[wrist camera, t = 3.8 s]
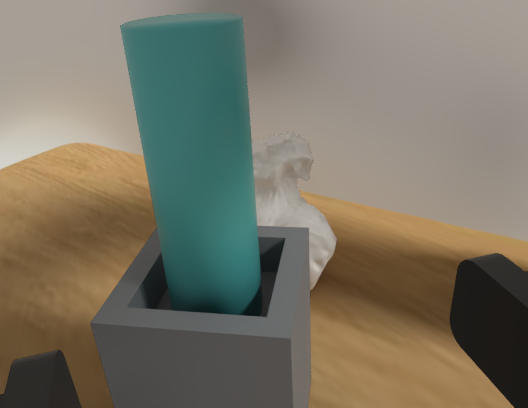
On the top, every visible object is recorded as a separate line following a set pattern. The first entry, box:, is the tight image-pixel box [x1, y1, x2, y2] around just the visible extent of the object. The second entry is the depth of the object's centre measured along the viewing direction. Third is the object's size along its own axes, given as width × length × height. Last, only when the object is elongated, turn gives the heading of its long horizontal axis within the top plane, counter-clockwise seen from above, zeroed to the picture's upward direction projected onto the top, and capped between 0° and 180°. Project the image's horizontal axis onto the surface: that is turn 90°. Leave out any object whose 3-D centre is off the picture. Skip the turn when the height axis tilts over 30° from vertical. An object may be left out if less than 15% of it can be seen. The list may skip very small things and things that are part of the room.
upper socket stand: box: [90, 226, 311, 408], centre depth 23 cm, size 8×8×10 cm
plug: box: [120, 13, 263, 317], centre depth 19 cm, size 4×4×12 cm
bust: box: [251, 132, 337, 290], centre depth 37 cm, size 12×8×11 cm
